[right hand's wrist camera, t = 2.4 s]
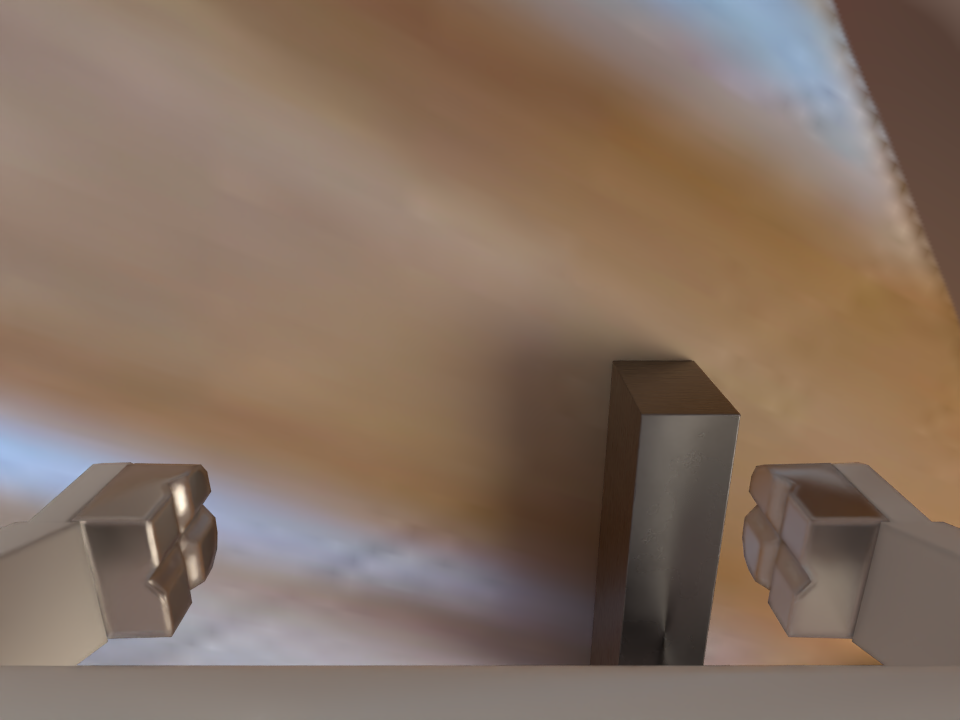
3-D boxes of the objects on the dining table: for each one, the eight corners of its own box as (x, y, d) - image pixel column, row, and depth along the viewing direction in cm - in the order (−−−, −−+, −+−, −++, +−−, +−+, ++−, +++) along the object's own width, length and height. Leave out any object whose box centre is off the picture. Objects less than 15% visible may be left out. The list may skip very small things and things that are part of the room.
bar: (612, 360, 41) (641, 414, 34) (694, 360, 41) (741, 414, 34) (587, 701, 50) (605, 802, 43) (653, 702, 50) (683, 802, 43)
